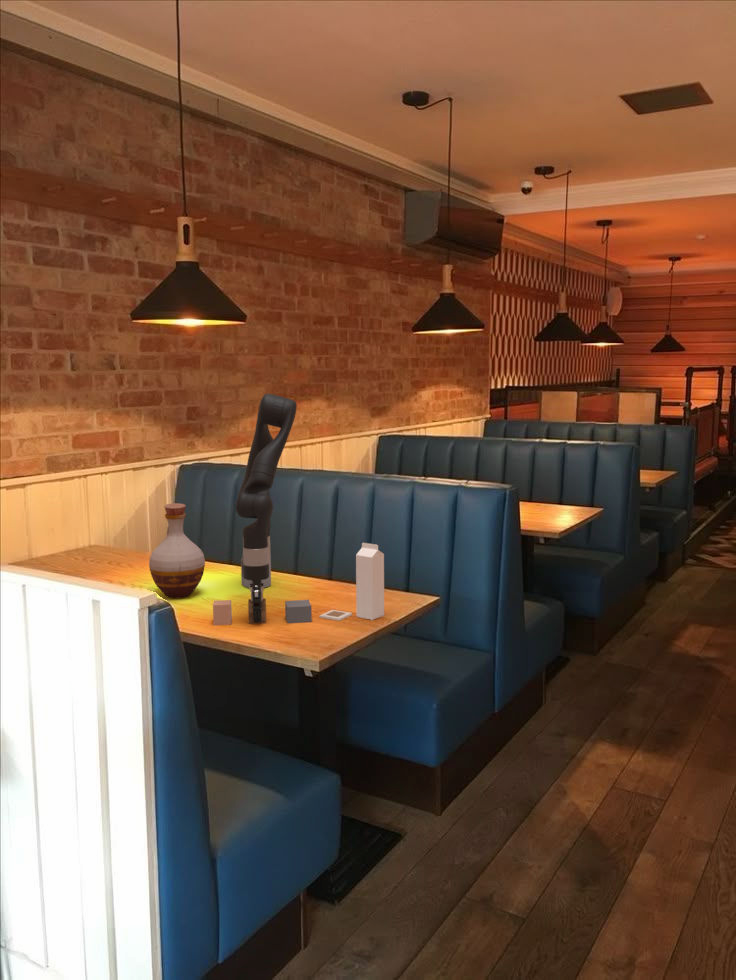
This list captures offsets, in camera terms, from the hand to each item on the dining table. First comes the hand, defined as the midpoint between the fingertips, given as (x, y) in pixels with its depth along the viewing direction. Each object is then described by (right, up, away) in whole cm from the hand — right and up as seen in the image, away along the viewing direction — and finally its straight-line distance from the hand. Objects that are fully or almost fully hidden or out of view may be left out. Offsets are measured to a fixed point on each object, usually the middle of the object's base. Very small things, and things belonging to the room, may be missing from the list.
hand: (257, 618), depth 244 cm
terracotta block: (-10, -1, -1) cm, 10 cm away
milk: (+33, 0, +4) cm, 33 cm away
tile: (+23, 0, +4) cm, 23 cm away
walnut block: (0, -1, 0) cm, 1 cm away
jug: (-30, +3, +30) cm, 43 cm away
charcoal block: (+12, -1, +2) cm, 12 cm away
